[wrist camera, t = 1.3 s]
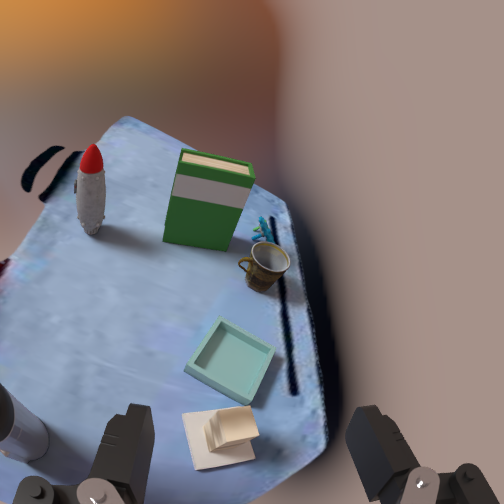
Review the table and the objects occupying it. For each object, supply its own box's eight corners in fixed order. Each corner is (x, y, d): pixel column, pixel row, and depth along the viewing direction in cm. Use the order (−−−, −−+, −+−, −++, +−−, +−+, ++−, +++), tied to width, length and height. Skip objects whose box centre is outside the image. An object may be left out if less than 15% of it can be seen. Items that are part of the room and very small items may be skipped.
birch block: (235, 447, 45) (259, 435, 38) (209, 452, 43) (227, 441, 36) (228, 422, 49) (250, 405, 41) (202, 426, 47) (218, 410, 39)
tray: (245, 406, 54) (251, 401, 51) (183, 371, 55) (186, 364, 53) (270, 354, 64) (276, 347, 62) (215, 323, 66) (219, 315, 63)
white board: (252, 459, 46) (255, 458, 45) (195, 470, 41) (196, 469, 40) (237, 408, 53) (239, 406, 52) (181, 415, 48) (182, 413, 47)
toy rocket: (76, 220, 72) (77, 136, 56) (104, 220, 76) (110, 137, 60) (75, 240, 67) (72, 152, 51) (105, 239, 71) (109, 152, 55)
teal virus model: (279, 252, 88) (264, 226, 83) (260, 260, 89) (245, 235, 84) (274, 232, 97) (261, 208, 92) (257, 240, 98) (243, 216, 93)
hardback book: (162, 241, 78) (179, 162, 62) (164, 223, 83) (181, 147, 68) (226, 251, 83) (255, 178, 68) (224, 233, 89) (251, 163, 73)
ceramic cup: (266, 267, 84) (280, 241, 78) (280, 295, 78) (297, 270, 72) (223, 268, 78) (234, 241, 72) (235, 300, 72) (248, 273, 66)
